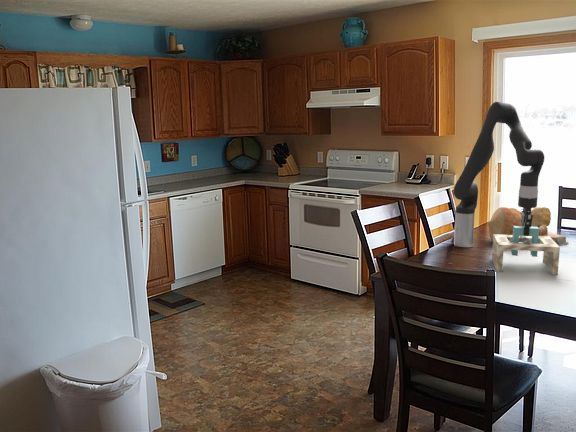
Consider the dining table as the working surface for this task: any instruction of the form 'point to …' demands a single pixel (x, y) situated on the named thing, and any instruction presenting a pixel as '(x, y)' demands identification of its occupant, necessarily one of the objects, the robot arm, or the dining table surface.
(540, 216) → the rough brown rock
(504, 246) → the shelf
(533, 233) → the teal arch block
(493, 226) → the orange-brown rounded sculpted piece
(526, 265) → the dining table surface
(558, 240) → the packaged product
